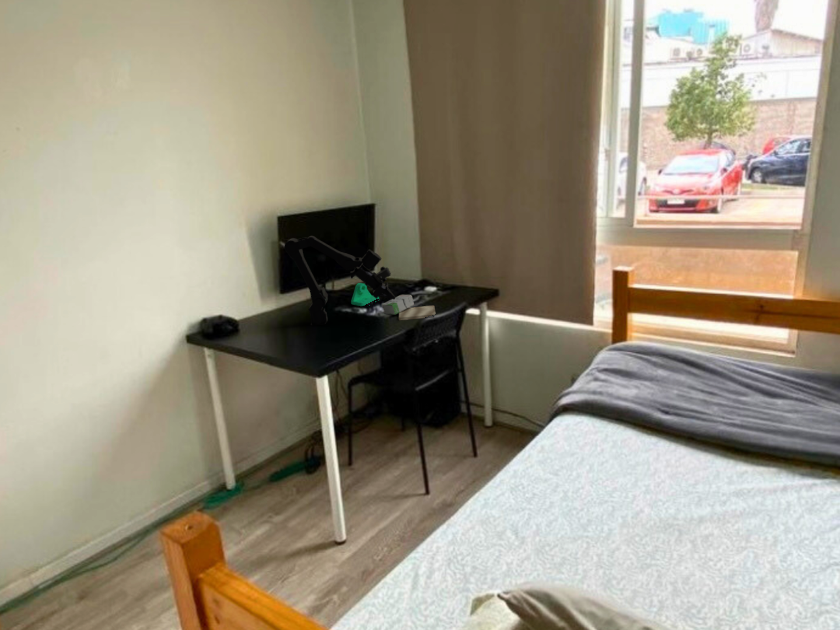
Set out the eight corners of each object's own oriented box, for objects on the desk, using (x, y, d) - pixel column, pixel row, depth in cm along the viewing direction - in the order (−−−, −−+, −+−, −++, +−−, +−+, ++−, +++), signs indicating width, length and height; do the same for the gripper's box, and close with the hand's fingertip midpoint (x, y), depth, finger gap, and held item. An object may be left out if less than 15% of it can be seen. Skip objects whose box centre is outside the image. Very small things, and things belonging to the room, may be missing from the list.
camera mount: (361, 308, 269) (359, 287, 266) (351, 306, 274) (349, 285, 271) (380, 302, 277) (377, 281, 274) (370, 300, 282) (367, 280, 279)
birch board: (399, 320, 244) (398, 317, 243) (399, 311, 257) (399, 308, 257) (435, 316, 244) (435, 314, 243) (434, 307, 257) (434, 305, 257)
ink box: (395, 315, 249) (415, 304, 255) (391, 304, 247) (412, 294, 254) (384, 314, 256) (404, 304, 262) (381, 304, 254) (401, 294, 261)
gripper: (377, 267, 234) (406, 290, 238) (379, 258, 252) (406, 280, 255) (361, 287, 237) (389, 309, 240) (364, 277, 255) (391, 298, 258)
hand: (394, 298), depth 248 cm, fingers closed
